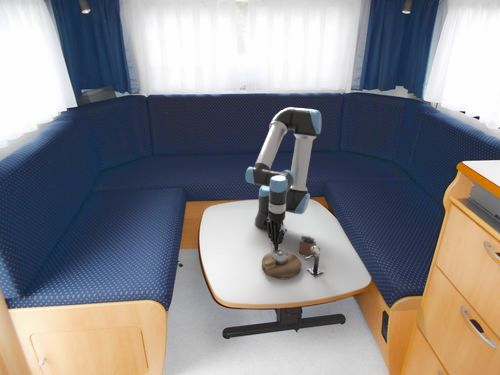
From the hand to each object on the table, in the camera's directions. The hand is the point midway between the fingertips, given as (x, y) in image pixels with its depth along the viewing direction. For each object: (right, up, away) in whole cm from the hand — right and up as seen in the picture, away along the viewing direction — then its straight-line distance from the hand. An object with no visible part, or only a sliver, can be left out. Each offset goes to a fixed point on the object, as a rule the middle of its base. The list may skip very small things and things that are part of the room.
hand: (274, 253), depth 163 cm
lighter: (+16, -2, +7) cm, 17 cm away
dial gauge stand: (+17, -8, -6) cm, 19 cm away
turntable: (+3, -6, -2) cm, 7 cm away
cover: (+2, -3, -2) cm, 4 cm away
